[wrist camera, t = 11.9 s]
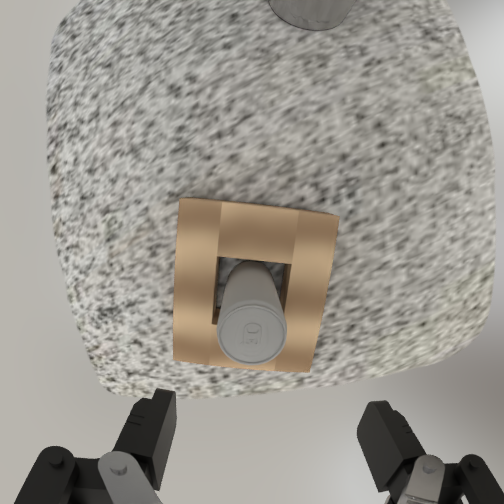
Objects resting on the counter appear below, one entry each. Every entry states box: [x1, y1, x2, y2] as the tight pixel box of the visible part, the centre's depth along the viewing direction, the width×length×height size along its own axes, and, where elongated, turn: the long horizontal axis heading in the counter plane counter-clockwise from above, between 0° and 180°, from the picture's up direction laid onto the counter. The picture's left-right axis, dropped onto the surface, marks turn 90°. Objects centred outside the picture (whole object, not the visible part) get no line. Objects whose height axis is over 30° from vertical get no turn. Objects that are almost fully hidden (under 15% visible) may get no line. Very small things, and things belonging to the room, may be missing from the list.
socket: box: [173, 197, 340, 372], centre depth 29 cm, size 16×14×4 cm
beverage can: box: [217, 261, 287, 365], centre depth 25 cm, size 5×5×12 cm
